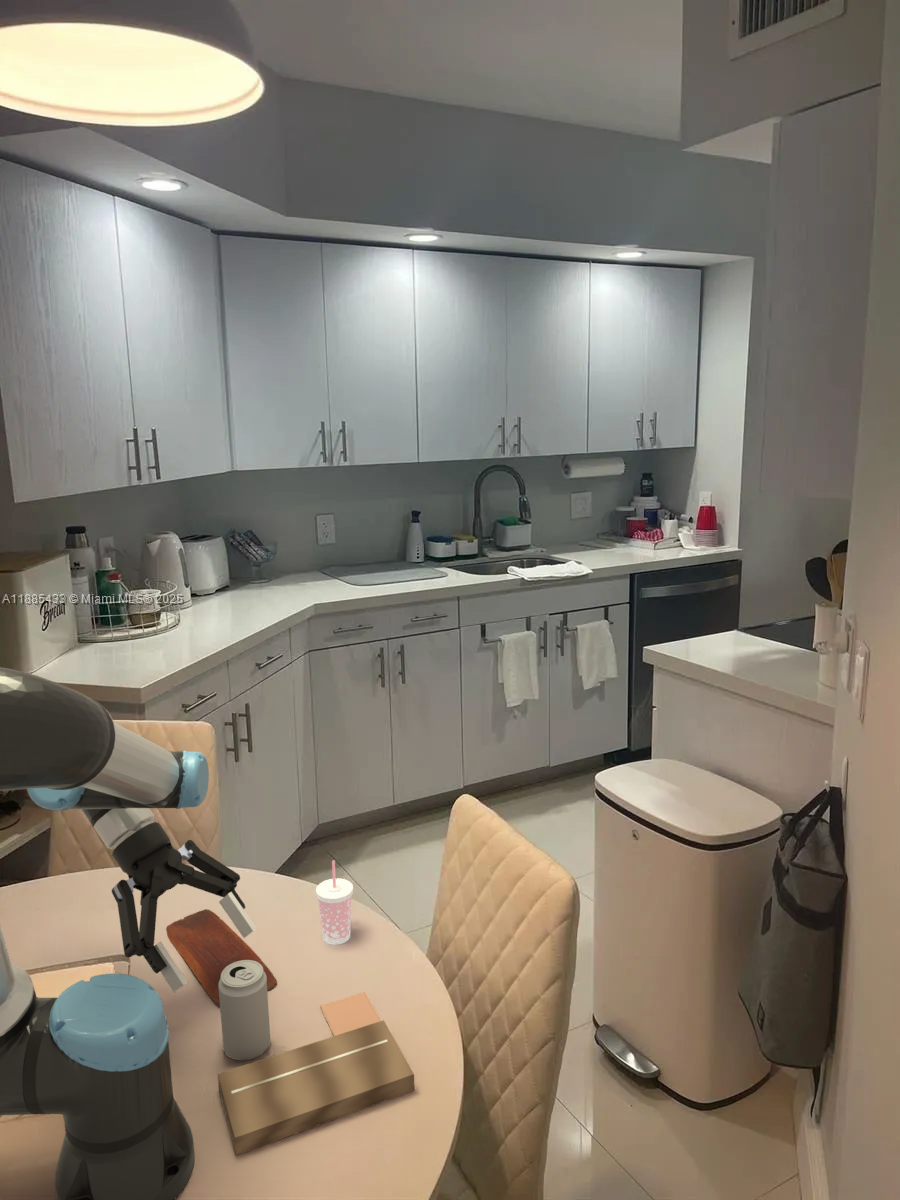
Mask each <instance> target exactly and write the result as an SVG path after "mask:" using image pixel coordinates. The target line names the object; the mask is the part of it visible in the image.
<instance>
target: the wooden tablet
mask: <svg viewBox="0 0 900 1200" xmlns="http://www.w3.org/2000/svg"><path fill="white" fill-rule="evenodd" d="M165 930H166V935H167V939H168V940H169V942H170V943H171V944H172V945H173V947H174V948H175V949H176V950H177V952H178V953H179V955H180V956H181V957H182V958H183V960H184V961H185V963H186V964H187V965H188V967H189V968H190V969H191V971H192V973H193V975H194V976H195V978H196V979H197V980H198V981H199V983H200V984H201V985H202V987H203V988H204V991H205V992H206V993H207V994H208V996H209V998H210V999H211V1000H212V1001H213V1002H214V1004H216V1005H217V1006H218V1007H219V1008H220V999H219V981H220V979H221V973H222V971H223V970H224V969H225V968H226V967H227V966H228V965H230V964H232V963H234V962H237V961H241V960H253V961H256V962H258V963H260V964H261V965H262V967H263V971H264V972H265V974H266V977H267V992H269V991H271V990H273V989H275V988H276V986H277V985H278V981H277V979H276V977H275V976H274V974H273V972H272V971H271V970H270V968H269V967H268V966H267V964H265V962H263V961H262V959H261V958H260V956H259V955H258V954H257V953H256V951H254V950H253V948H252V947H251V946H249V945H248V944H247V943H246V941H244V940H243V938H241V937H240V936H239V935H238V934H237V933H236V932H235V931H234V930H233V929H232V928H231V927H230V926H229V925H228V924H227V923H226V922H225V921H224V920H223V919H222V918H221V917H219V916H218V914H217V913H215V912H214V911H212V910H210V909H207V908H206V909H202V910H199V911H196V912H195V913H191V914H189V915H186V916H184V918H181V919H177V920H176V921H174V922H172V923H170V924H168V925H167V926H166V928H165Z"/></svg>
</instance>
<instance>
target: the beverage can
mask: <svg viewBox="0 0 900 1200" xmlns="http://www.w3.org/2000/svg"><path fill="white" fill-rule="evenodd" d="M268 994H269V992H268V991H267V977H266V974H265V972H264V971H263V967H262V965H261V964H260V963H258V962H256V961H253V960H241V961H237V962H234V963H232V964H230V965H228V966H227V967H226V968H225V969H224V970H223V971H222V973H221V979H220V981H219V999H220V1007H219V1008H220V1009H219V1011H220V1022H221V1023H220V1024H221V1035H222V1049H223V1051H224V1053H225V1055H226V1056H227V1057H228V1058H230V1059H232V1060H236V1061H243V1062H245V1061H246V1062H247V1061H252V1060H254V1059H257V1058H258V1057H260V1056H261V1055H262V1054H263V1053H264V1052H266V1050H267V1049H268V1048H269V1046H270V1044H271V1030H270V1029H271V1028H270V1012H269V995H268Z"/></svg>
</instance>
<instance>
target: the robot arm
mask: <svg viewBox="0 0 900 1200" xmlns="http://www.w3.org/2000/svg"><path fill="white" fill-rule="evenodd" d="M209 775H210V773H209V764H208V760H207V757H206V756H205V754H204V753H203V752H200V751H188V750H186V749H184V750H180V751H173V750H171V751H170V750H168V749H166V748H164V747H162V746H160V745H158V744H156V743H154V742H153V741H151V740H149V739H147V738H145V737H143V736H141V735H139V734H137V733H135V732H134V731H131V730H130V729H128V728H125V726H122V725H120V724H118V723H116V722H115V721H114V719H113V718H112V716H111V714H110V712H109V711H108V709H106V708H105V706H103V705H102V704H101V703H100V702H98V701H96V700H95V699H93V698H91V697H89V696H87V695H86V694H83V693H81V692H80V691H77V690H75V689H73V688H70V687H68V686H66V685H63V684H61V683H59V682H56V681H53V680H50V679H48V678H44V677H41V676H38V675H35V674H32V673H29V672H24V671H22V670H21V671H20V670H17V669H12V668H8V667H7V668H6V667H1V666H0V792H6V791H17V790H18V791H19V790H26V791H27V793H28V796H29V798H30V799H31V800H32V802H33V803H34V804H36V805H37V806H39V807H41V808H43V809H46V810H51V811H52V812H53V811H54V812H57V811H68V810H69V811H70V810H81V811H82V812H83V814H84V815H85V817H86V818H87V820H88V821H89V822H90V824H91V826H92V827H93V828H94V830H95V832H96V834H98V836H99V837H100V839H101V840H102V841H103V844H104V845H105V847H106V848H107V849H109V850H112V854H111V856H112V857H113V859H114V860H115V862H116V864H118V865H117V866H119V868H120V869H121V871H122V872H123V873H125V874H126V875H127V877H128V879H120V880H119V881H118V882H117V883H116V884H115V885H114V886H113V888H111V894H112V896H113V898H114V900H115V902H116V903H117V909H118V918H119V923H120V931H121V939H122V947H123V954H124V956H125V958H131V957H132V956H136V957H142V956H143V958H144V959H145V961H146V962H147V964H148V965H149V967H150V968H151V970H152V971H153V972H154V973H155V974H158V973H159V974H161V975H162V977H163V978H164V980H165V981H166V982H167V984H168V986H169V987H170V989H171V990H172V992H173V993H176V992H177V991H178V990H179V989H181V988H182V987H184V986H185V985H186V984H187V983H188V980H187V978H186V977H185V976H184V974H183V973H182V971H181V969H180V968H179V967H178V965H177V964H176V962H175V960H174V959H173V958H172V956H171V955H170V953H169V951H168V950H167V949H166V947H165V945H164V944H163V942H162V941H158V942H157V943H156V944H155V937H156V936H155V935H156V925H157V924H156V923H157V922H156V921H157V909H158V900H159V898H160V897H161V896H162V895H164V894H165V892H167V891H169V890H172V889H173V888H175V887H176V886H177V885H187V886H190V887H193V888H195V889H197V890H200V891H204V892H207V893H210V894H213V895H215V896H218V897H221V898H222V899H220V900H219V901H218V904H219V905H220V906H221V907H222V909H223V911H224V912H225V913H226V915H227V916H228V917H229V919H230V920H231V923H233V925H234V926H235V928H236V929H237V930H238V933H239V934H240V935H241V936H242V939H246V938H247V937H248V936H249V935H250V934H252V932H254V931H255V930H257V927H256V926H255V924H254V922H253V921H252V920H251V918H250V917H249V914H248V913H247V912H246V911H245V909H246V905H245V902H244V901H243V900H242V898H241V897H240V896H239V894H238V893H237V891H236V888H237V886H238V884H237V883H238V882H239V881H240V880H241V876H240V874H239V873H237V872H236V871H234V870H232V869H231V868H229V867H228V866H226V865H225V864H223V863H222V862H220V861H219V860H217V859H215V858H214V857H212V856H211V855H209V854H207V853H206V852H204V851H203V850H202V849H200V848H199V846H197V844H196V843H195V841H193V840H192V839H188V840H186V842H185V843H184V844H183V845H181V847H180V848H178V849H176V848H174V847H173V845H172V842H171V839H170V837H169V835H168V834H167V833H166V831H165V830H164V828H163V826H162V825H161V824H160V822H157V821H154V820H155V817H156V816H155V814H154V813H153V812H152V810H151V809H176V810H181V809H185V808H186V809H187V808H196V807H199V806H201V805H202V804H203V803H204V801H205V800H206V797H207V794H208V789H209V780H210V776H209ZM183 861H187V863H189V864H190V865H188V864H186V863H183ZM195 868H196V869H195ZM134 889H135V890H138V891H140V900H139V901H140V903H139V905H140V907H141V908H140V917H139V919H140V920H139V925H138V917H137V910H136V909H137V908H136V904H135V902H136V901H135V897H134V891H135V890H134ZM169 1032H170V1029H169V1023H168V1020H167V1018H166V1013H165V1007H164V1004H163V999H162V997H161V996H160V994H159V992H157V991H156V990H155V988H154V987H153V985H151V984H150V983H148V982H147V981H145V980H144V979H142V978H139V977H137V976H133V975H130V974H125V973H124V974H123V973H105V974H104V973H103V974H98V975H93V976H91V977H90V978H89V981H85V980H83V979H81V980H79V981H77V982H75V983H73V984H71V985H70V986H68V987H66V989H64V990H63V991H62V992H61V993H60V994H59V995H58V996H57V997H38V996H37V993H36V991H35V987H34V983H33V980H32V977H31V976H30V975H29V973H28V972H27V971H26V970H24V968H21V967H19V966H16V965H13V964H12V962H11V958H10V955H9V952H8V948H7V945H6V940H5V936H4V933H3V929H2V926H1V924H0V1116H27V1115H62V1116H63V1122H64V1128H65V1129H64V1131H65V1133H64V1134H65V1135H64V1138H63V1142H62V1145H61V1150H60V1153H59V1157H58V1162H57V1166H56V1169H55V1174H54V1188H55V1196H56V1200H175V1199H177V1197H178V1196H179V1195H180V1194H181V1192H182V1191H183V1190H184V1188H185V1186H186V1184H187V1183H188V1181H189V1179H190V1178H191V1175H192V1172H193V1169H194V1165H195V1157H196V1156H195V1145H194V1137H193V1133H192V1128H191V1126H190V1125H189V1122H188V1121H187V1119H186V1117H185V1116H184V1113H183V1112H182V1110H181V1109H180V1106H179V1105H178V1103H177V1101H176V1100H175V1098H174V1091H173V1078H172V1077H173V1076H172V1067H171V1065H172V1064H171V1057H170V1044H169V1037H170V1036H169Z"/></svg>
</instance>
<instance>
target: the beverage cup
mask: <svg viewBox="0 0 900 1200" xmlns="http://www.w3.org/2000/svg"><path fill="white" fill-rule="evenodd" d="M331 870H332V871H331V872H332V878H330V879H325V880H323V881H322V882H320V883H318V885H317V886H316V888H315V893H316V897H317V899H318V908H319V917H320V925H321V927H320V928H321V933H322V940H323V942H324V943H326V944H328V945H331V946H332V945H333V946H337V945H342V944H344V943H346V942H347V941H349V940H350V938H351V928H352V927H351V926H352V925H351V920H352V896H353V894H354V885H353V883H352V882H351V881H349V880H347V879H346V878H345V879H344V878H340V877H339V878H338V877H337V878H336V860H335V859H333V860H332V861H331Z"/></svg>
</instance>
